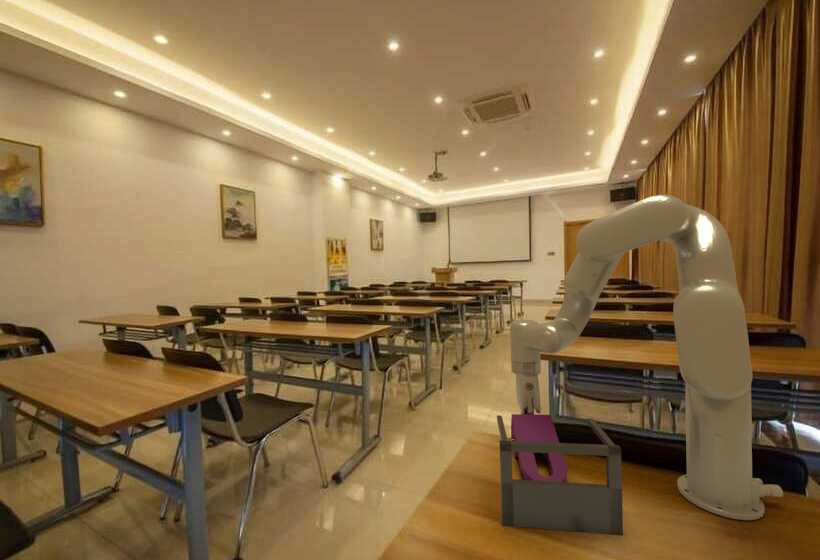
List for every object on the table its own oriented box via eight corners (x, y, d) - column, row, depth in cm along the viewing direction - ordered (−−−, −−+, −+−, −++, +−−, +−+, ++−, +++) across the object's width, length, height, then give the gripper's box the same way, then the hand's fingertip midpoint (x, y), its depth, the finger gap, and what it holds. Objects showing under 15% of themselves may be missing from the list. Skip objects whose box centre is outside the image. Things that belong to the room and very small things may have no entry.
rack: (596, 491, 71) (595, 418, 71) (623, 535, 59) (621, 448, 59) (496, 484, 74) (494, 415, 74) (502, 525, 62) (499, 443, 62)
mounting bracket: (568, 510, 74) (547, 437, 90) (573, 485, 70) (550, 414, 86) (522, 507, 75) (510, 436, 91) (524, 483, 72) (511, 414, 88)
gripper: (546, 374, 85) (548, 448, 85) (535, 359, 100) (537, 422, 100) (515, 374, 86) (517, 447, 87) (508, 359, 101) (510, 421, 101)
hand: (527, 433), depth 93 cm, fingers closed
